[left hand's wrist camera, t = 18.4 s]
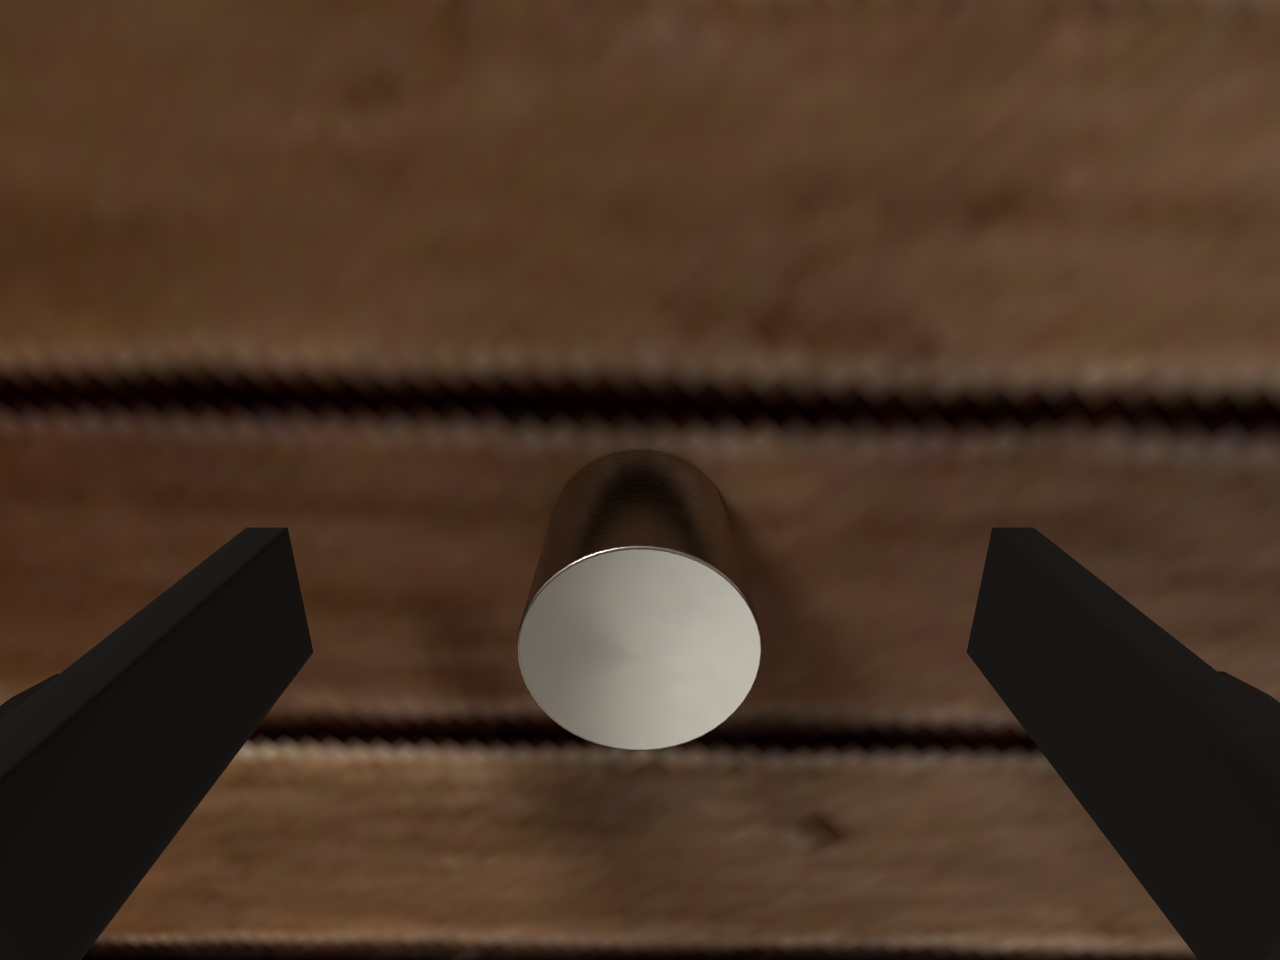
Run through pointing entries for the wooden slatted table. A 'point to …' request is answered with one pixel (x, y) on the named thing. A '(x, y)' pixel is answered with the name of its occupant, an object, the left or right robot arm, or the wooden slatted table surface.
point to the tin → (639, 607)
